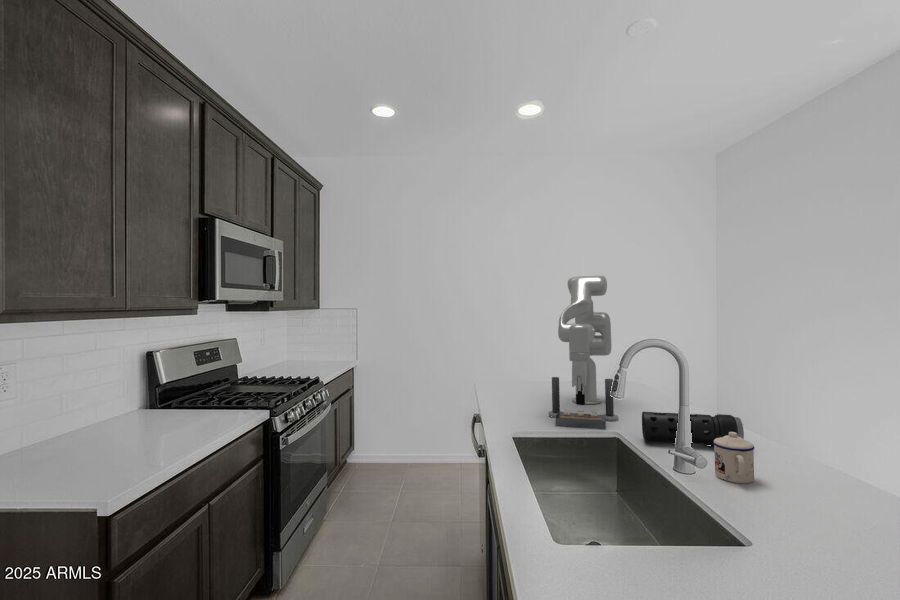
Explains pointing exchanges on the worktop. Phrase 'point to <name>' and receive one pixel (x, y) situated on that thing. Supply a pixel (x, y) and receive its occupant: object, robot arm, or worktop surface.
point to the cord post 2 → (609, 402)
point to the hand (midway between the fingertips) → (580, 404)
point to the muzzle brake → (702, 427)
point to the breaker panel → (581, 420)
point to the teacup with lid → (734, 458)
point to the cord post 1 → (555, 397)
